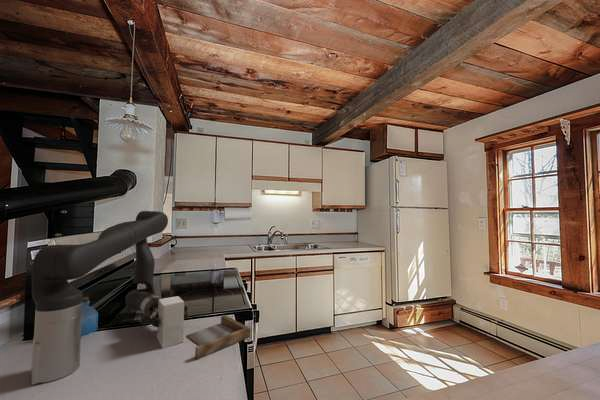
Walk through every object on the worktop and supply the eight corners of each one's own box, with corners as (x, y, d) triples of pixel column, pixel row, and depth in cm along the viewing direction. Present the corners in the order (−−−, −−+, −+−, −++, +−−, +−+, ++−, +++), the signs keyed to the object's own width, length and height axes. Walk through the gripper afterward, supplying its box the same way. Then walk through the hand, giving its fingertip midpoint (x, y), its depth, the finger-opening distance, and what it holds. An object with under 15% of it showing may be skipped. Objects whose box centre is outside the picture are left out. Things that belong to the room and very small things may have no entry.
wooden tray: (197, 359, 74) (197, 348, 74) (174, 340, 85) (174, 331, 85) (250, 337, 87) (250, 328, 87) (224, 323, 98) (224, 315, 98)
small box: (183, 342, 84) (184, 301, 84) (161, 348, 80) (163, 305, 80) (177, 333, 90) (178, 295, 91) (156, 338, 86) (157, 299, 87)
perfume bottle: (65, 335, 88) (67, 300, 88) (85, 328, 94) (87, 294, 94) (77, 338, 86) (79, 302, 86) (97, 330, 92) (98, 296, 92)
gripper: (133, 302, 90) (148, 314, 79) (175, 293, 100) (194, 302, 90) (132, 324, 90) (147, 339, 79) (174, 312, 100) (193, 324, 89)
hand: (172, 319), depth 84 cm, fingers open, 8 cm apart
